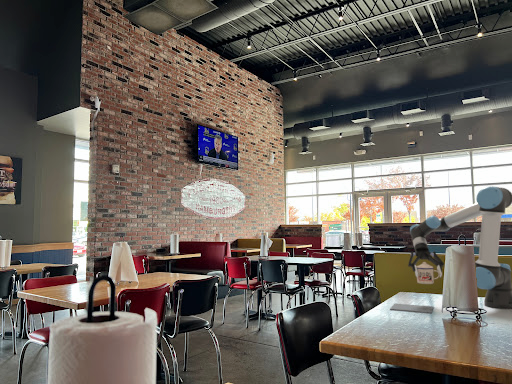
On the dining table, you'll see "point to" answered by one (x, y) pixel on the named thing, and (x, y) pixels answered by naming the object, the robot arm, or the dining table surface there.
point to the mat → (412, 308)
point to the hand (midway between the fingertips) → (429, 275)
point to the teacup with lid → (426, 274)
